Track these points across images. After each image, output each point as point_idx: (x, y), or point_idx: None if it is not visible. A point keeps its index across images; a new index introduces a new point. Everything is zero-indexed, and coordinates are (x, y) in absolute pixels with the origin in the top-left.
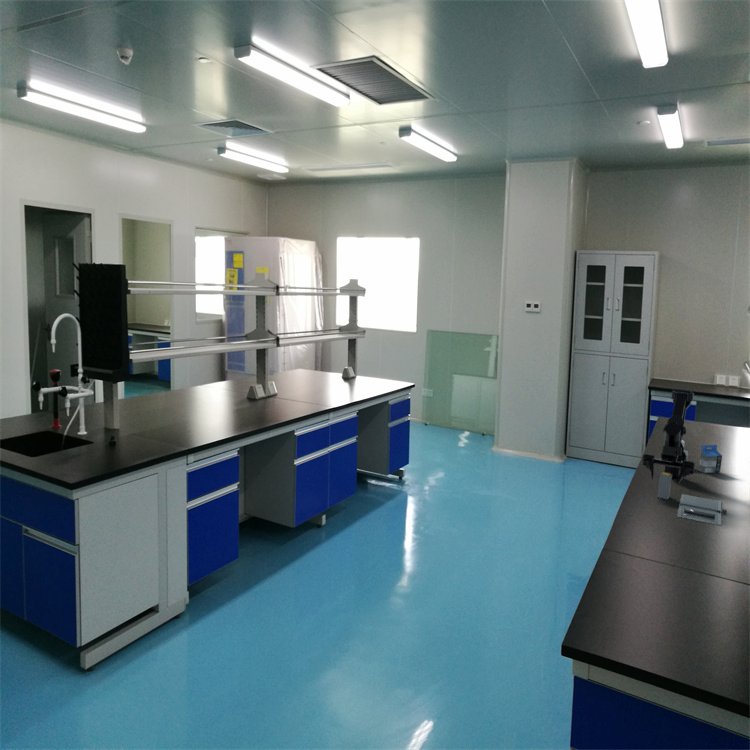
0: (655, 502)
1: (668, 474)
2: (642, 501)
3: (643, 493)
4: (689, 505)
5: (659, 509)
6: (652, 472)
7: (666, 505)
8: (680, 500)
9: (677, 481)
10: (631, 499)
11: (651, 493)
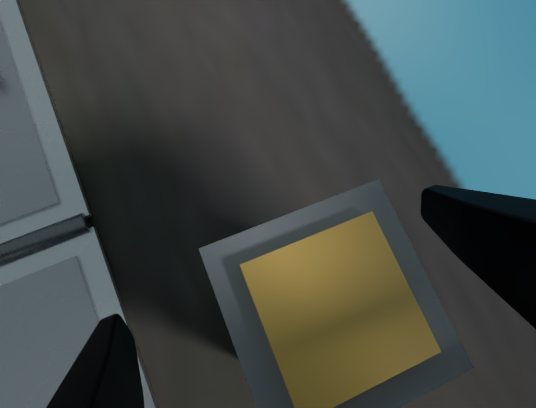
0: (240, 124)
1: (271, 278)
2: (300, 68)
3: None
4: (3, 243)
5: (152, 20)
6: (520, 211)
7: (160, 132)
8: None
9: (113, 331)
10: (359, 45)
11: None
